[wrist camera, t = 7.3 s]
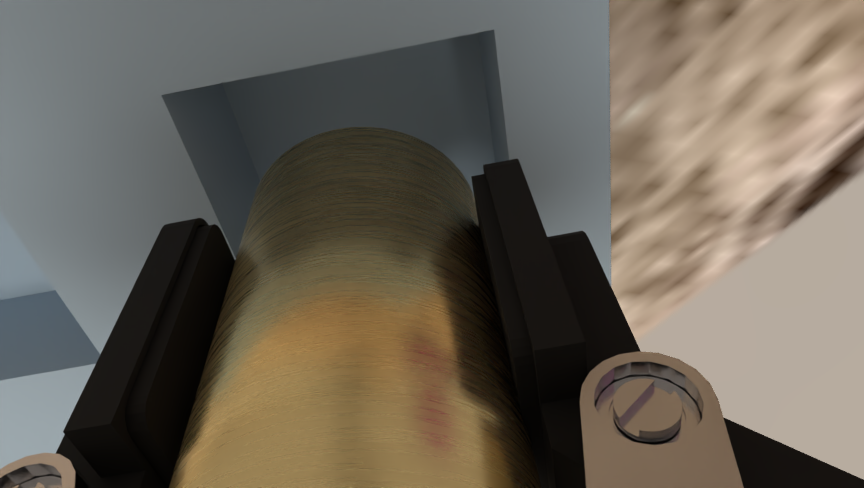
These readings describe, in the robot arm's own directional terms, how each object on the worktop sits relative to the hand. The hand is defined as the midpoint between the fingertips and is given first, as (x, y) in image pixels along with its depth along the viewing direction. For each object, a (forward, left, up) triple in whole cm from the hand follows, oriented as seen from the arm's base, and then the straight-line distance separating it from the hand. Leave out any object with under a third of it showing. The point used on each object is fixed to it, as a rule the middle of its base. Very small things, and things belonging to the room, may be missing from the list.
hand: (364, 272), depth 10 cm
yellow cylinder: (0, 0, -1) cm, 1 cm away
